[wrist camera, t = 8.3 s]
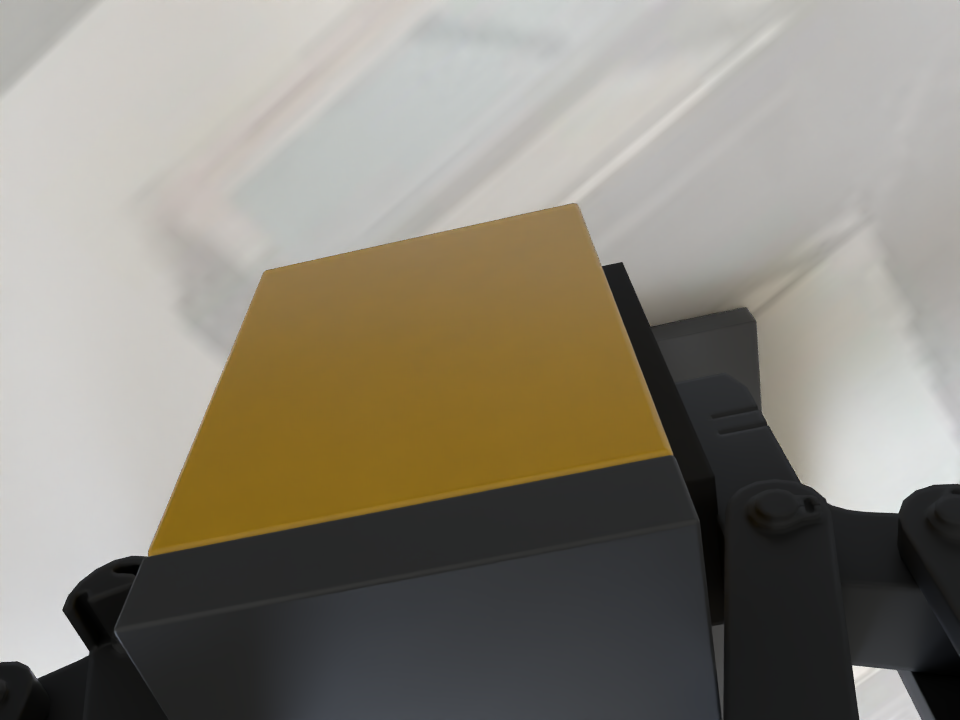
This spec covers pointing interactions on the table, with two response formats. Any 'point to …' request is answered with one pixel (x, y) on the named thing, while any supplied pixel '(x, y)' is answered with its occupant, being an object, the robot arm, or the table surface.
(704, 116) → the table surface
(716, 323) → the stand
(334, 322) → the block
